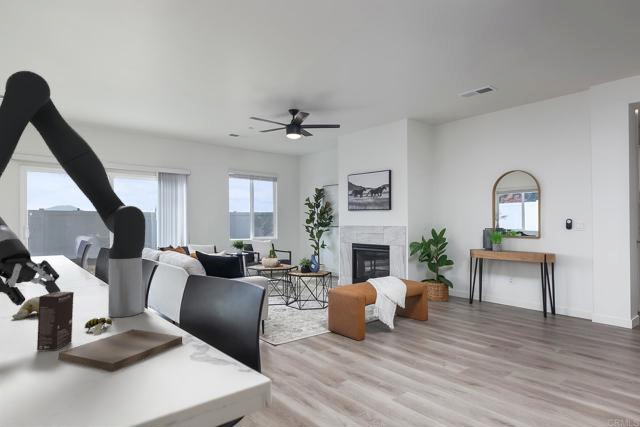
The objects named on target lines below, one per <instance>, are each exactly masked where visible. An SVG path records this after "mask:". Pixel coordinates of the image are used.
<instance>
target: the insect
mask: <svg viewBox="0 0 640 427" xmlns="http://www.w3.org/2000/svg"><path fill="white" fill-rule="evenodd" d="M114 318H116V317H112V318H111V319H110V318H105V317H99V318H97V317H96V318H92V319H89V321H86V323H85V324H84V329H88V330H87V332H86V334H88V333H89V332H90V331H92V335H93V336H94V337H95V336H99V335H100V333H101V331H102V330H103V329H105V326H106V325H108V326H112V324H113V320H114ZM93 327H94V328H93Z"/></svg>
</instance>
